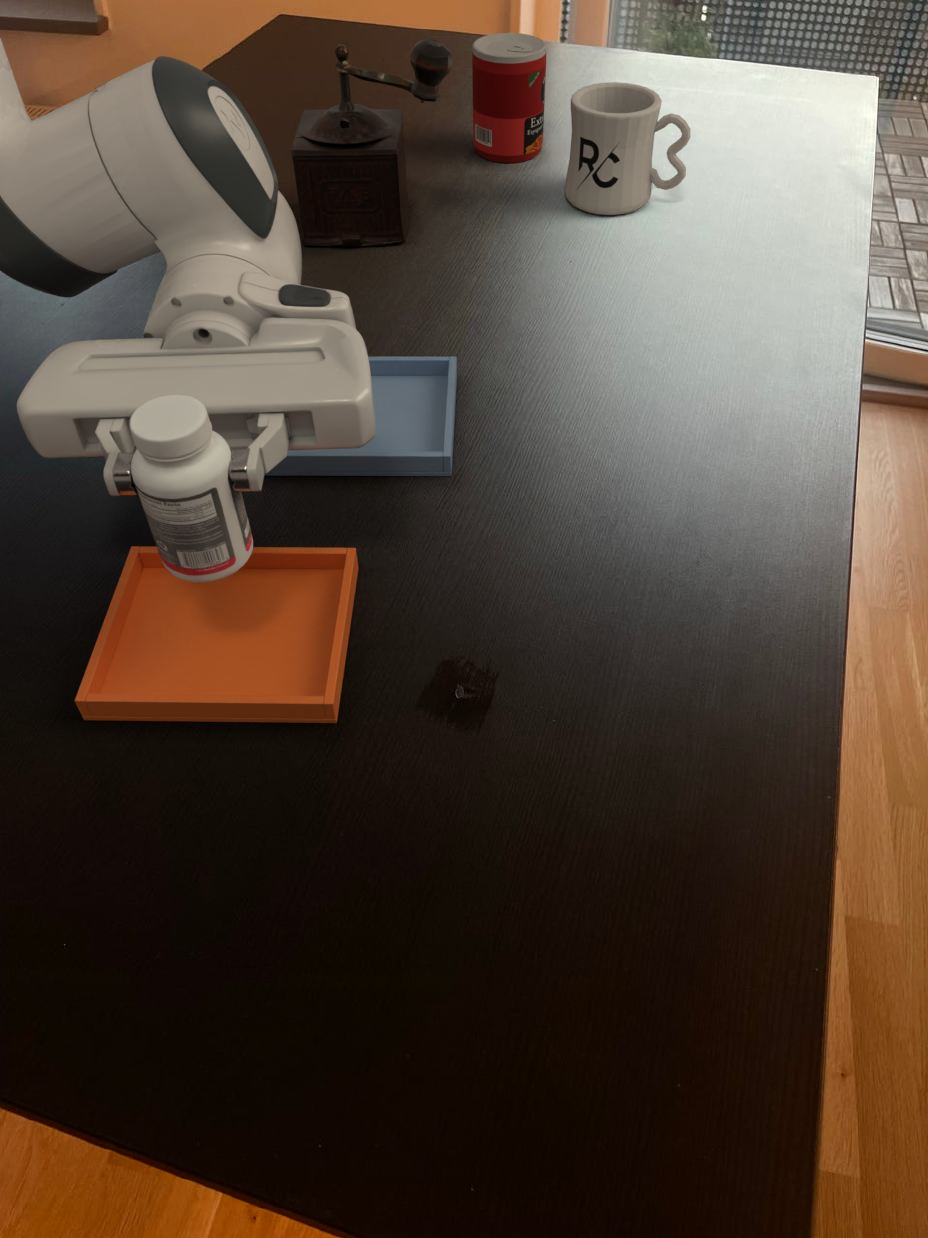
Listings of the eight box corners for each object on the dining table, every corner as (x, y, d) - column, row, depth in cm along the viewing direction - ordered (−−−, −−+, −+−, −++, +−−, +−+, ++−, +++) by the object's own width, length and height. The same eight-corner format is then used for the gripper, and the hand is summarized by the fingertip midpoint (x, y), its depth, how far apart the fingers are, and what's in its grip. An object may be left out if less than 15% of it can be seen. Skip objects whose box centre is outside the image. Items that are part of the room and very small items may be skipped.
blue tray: (249, 475, 75) (245, 455, 74) (276, 375, 84) (273, 355, 82) (451, 476, 74) (450, 456, 73) (457, 375, 83) (456, 356, 82)
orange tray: (83, 720, 60) (74, 701, 58) (138, 566, 68) (131, 545, 67) (336, 723, 59) (333, 703, 58) (358, 567, 68) (356, 547, 67)
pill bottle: (196, 513, 61) (156, 376, 54) (272, 536, 59) (241, 398, 52) (143, 571, 58) (93, 434, 50) (222, 596, 56) (181, 459, 49)
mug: (554, 211, 103) (559, 110, 96) (575, 175, 109) (582, 76, 102) (672, 227, 100) (687, 124, 93) (688, 189, 106) (703, 89, 99)
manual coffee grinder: (300, 250, 99) (271, 51, 85) (312, 200, 106) (287, 9, 93) (456, 248, 98) (452, 48, 85) (457, 198, 106) (454, 7, 93)
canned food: (539, 165, 111) (543, 57, 103) (468, 162, 112) (466, 54, 104) (546, 137, 116) (550, 33, 108) (478, 134, 117) (477, 30, 109)
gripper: (36, 302, 60) (-34, 443, 51) (374, 291, 60) (365, 430, 51) (69, 390, 65) (10, 534, 56) (382, 380, 65) (375, 522, 56)
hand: (183, 484), depth 53 cm, fingers closed on pill bottle, 5 cm apart
